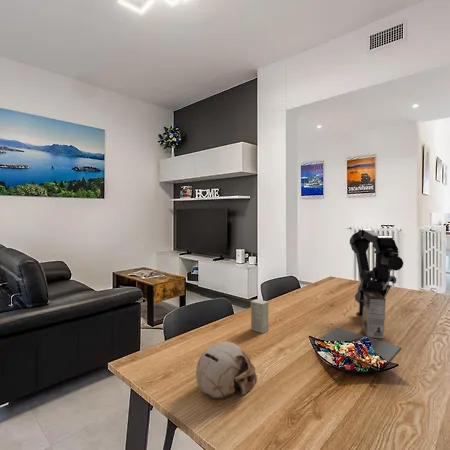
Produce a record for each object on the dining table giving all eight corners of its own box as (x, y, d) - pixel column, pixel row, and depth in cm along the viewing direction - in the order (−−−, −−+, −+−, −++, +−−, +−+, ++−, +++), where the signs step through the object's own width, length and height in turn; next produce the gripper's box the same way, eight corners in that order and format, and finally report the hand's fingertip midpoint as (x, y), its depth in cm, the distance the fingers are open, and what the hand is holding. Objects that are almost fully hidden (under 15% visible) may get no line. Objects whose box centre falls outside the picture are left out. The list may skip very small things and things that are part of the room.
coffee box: (361, 328, 126) (362, 290, 125) (377, 329, 125) (379, 291, 124) (367, 337, 117) (368, 297, 116) (384, 338, 116) (386, 298, 115)
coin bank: (258, 372, 92) (257, 331, 89) (251, 416, 75) (249, 367, 73) (209, 367, 95) (206, 328, 93) (192, 409, 78) (189, 362, 76)
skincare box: (268, 330, 123) (269, 301, 122) (262, 333, 120) (263, 304, 119) (256, 326, 127) (256, 298, 126) (250, 329, 124) (250, 300, 123)
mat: (337, 328, 125) (337, 327, 125) (401, 348, 108) (401, 346, 108) (313, 344, 111) (313, 342, 111) (382, 369, 94) (382, 367, 94)
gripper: (370, 260, 138) (369, 293, 139) (354, 265, 125) (353, 302, 126) (397, 263, 130) (395, 298, 131) (383, 269, 117) (381, 308, 118)
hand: (381, 301), depth 127 cm, fingers closed
